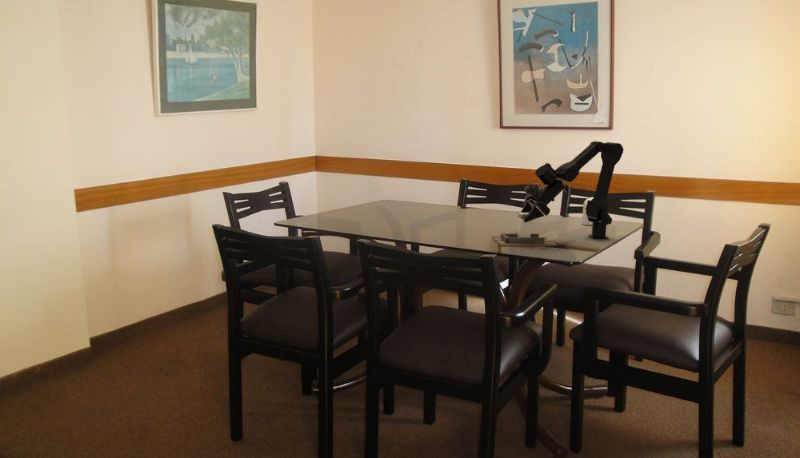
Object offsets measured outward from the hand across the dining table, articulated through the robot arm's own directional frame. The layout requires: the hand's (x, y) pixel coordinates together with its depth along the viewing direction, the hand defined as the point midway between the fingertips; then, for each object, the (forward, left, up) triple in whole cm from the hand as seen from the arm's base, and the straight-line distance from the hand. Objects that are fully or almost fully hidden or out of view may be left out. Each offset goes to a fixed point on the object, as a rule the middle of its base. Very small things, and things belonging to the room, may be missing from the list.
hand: (521, 219), depth 280 cm
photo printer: (+39, -43, -9) cm, 59 cm away
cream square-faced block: (0, -1, -9) cm, 9 cm away
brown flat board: (0, -1, -9) cm, 9 cm away
